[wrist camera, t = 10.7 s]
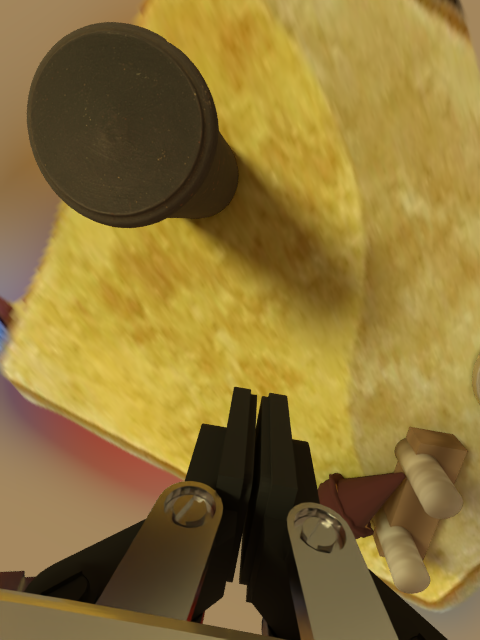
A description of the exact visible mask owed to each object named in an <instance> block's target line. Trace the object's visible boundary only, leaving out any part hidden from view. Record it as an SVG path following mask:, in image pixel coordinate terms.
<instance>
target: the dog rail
mask: <svg viewBox="0 0 480 640" xmlns="http://www.w3.org/2000/svg"><path fill="white" fill-rule="evenodd" d="M467 452H468V451H467V450H466V449H465V448H464V446H463V445H462V444H461V443H460V442H459V441H458V439H457V438H456V437H455V436H454V435H453V434H448V433H442V432H436V431H430V430H425V429H419V428H413V427H409V430H408V433H407V436H406V438H405V439H402V440H401V441H400V442H399V443H398V444H397V445H396V447H395V456H396V458H397V459H398V462H397V465H396V468H395V471H394V473H397V472H403V473H404V474H405V476H406V477H405V479H404V480H403V481H402V483H401V484H400V485H399V486H398V487H397V489H396V490H395V491H394V492H393V493H392V495H391V496H390V497H389V498H388V499H387V501H386V502H385V503H384V504H383V506H382V507H381V508H380V509H379V510H378V512H377V513H376V514H375V515H374V517H373V518H372V520H373V523H374V526H375V529H374V534H373V537H374V540H375V543H376V546H377V549H378V552H379V555H380V556H382V557H385V558H386V561H387V564H388V567H389V569H390V572H391V575H392V578H393V581H394V584H395V586H396V587H397V589H399V590H400V591H402V592H404V593H411V594H412V593H418V592H421V591H423V590H425V589H426V588H427V587H428V586H429V584H430V576H429V574H428V572H427V570H426V567H425V565H424V563H423V559H424V557H425V555H426V552H427V550H428V547H429V545H430V542H431V540H432V537H433V535H434V532H435V530H436V528H437V525H438V523H439V520H440V519H447V518H450V517H453V516H454V515H456V514H457V513H458V512H459V511H460V510H461V508H462V506H463V499H462V497H461V495H460V493H459V492H458V491H457V489H456V488H455V486H454V483H455V481H456V479H457V476H458V474H459V471H460V469H461V466H462V464H463V461H464V459H465V456H466V454H467Z"/></svg>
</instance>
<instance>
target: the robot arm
mask: <svg viewBox="0 0 480 640" xmlns="http://www.w3.org/2000/svg"><path fill="white" fill-rule="evenodd" d="M472 387H473V391H474V395H475V397H476V399H477V401H478V403H479V404H480V354H479V356H478V358H477V360H476V363H475V365H474V369H473V374H472ZM256 407H257V395H253V394H251V389H245V388H239V387H234V391H233V396H232V402H231V407H230V413H229V418H228V424H227V428H226V427H220V426H214V425H209V424H202V426H201V429H200V432H199V435H198V439H197V442H196V445H195V449H194V452H193V455H192V459H191V462H190V465H189V469H188V472H187V475H186V479H185V481H184V482H179V483H176V484H173V485H171V486H170V487H168V488H167V489H165V490H164V491H163V492H162V494H161V495H160V496H159V498H158V499H157V501H156V503H155V504H154V506H153V508H152V510H151V512H150V513H149V515H148V516H147V518H146V519H145V520H143V521H141V522H139V523H137V524H135V525H132V526H130V527H129V528H126V529H124V530H122V531H120V532H118V533H116V534H114V535H112V536H110V537H108V538H106V539H104V540H102V541H100V542H98V543H96V544H94V545H92V546H90V547H88V548H86V549H84V550H82V551H80V552H78V553H76V554H74V555H71V556H69V557H68V558H65V559H63V560H61V561H59V562H57V563H55V564H53V565H52V566H50V567H48V568H47V569H45V570H44V571H42V572H41V573H40V574H38V575H37V576H36V577H25V571H10V572H9V571H8V572H0V640H447V638H445V637H444V636H443V635H442V634H441V633H440V632H439V631H438V630H437V629H435V628H434V627H433V626H432V625H431V624H430V623H429V622H428V621H426V620H425V619H424V618H423V617H422V616H421V615H420V614H419V613H418V612H416V611H415V610H414V609H413V608H412V607H411V606H410V605H409V604H407V603H406V602H405V601H404V600H403V599H402V598H401V597H400V596H399V595H397V594H396V593H395V592H394V591H393V590H392V589H391V588H390V587H388V586H387V585H386V584H385V583H384V582H383V581H382V580H381V579H379V578H378V577H377V576H376V575H375V574H374V573H373V572H372V571H371V570H369V569H368V568H367V565H366V563H365V561H364V558H363V556H362V554H361V551H360V549H359V547H358V544H357V542H356V540H355V537H354V535H353V533H352V531H351V529H350V527H349V525H348V524H347V522H346V521H345V520H344V519H343V518H342V517H341V516H340V515H339V514H338V513H336V512H335V511H333V510H332V509H331V508H328V507H326V506H324V505H321V504H320V501H319V496H318V490H317V485H316V480H315V474H314V469H313V463H312V458H311V453H310V447H309V444H308V442H305V441H300V440H294V439H292V435H291V426H290V417H289V409H288V400H287V396H286V395H280V394H274V393H269V396H268V397H265V396H262V399H261V404H260V409H259V414H258V419H257V424H256ZM255 428H256V429H255ZM242 533H243V535H242ZM241 538H242V549H241V563H240V576H239V577H240V578H239V584H244V585H247V595H246V602H250V603H252V604H253V605H254V606H255V607H256V609H257V610H258V611H259V613H260V614H261V615H262V617H263V618H262V629H261V630H262V635H259V634H253V633H248V632H243V631H237V630H232V629H227V628H221V627H216V626H210V625H205V624H203V620H204V615H205V610H206V609H208V608H209V607H210V606H211V605H213V604H214V603H216V602H217V601H218V600H219V599H221V598H222V597H223V595H224V590H225V585H226V581H227V582H233V578H234V573H235V568H236V563H237V558H238V553H239V548H240V542H241Z"/></svg>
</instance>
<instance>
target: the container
mask: <svg viewBox="0 0 480 640" xmlns="http://www.w3.org/2000/svg"><path fill="white" fill-rule="evenodd" d="M27 127H28V134H29V140H30V144H31V147H32V151H33V154H34V157H35V160H36V162H37V164H38V166H39V168H40V171H41V173H42V174H43V176H44V178H45V179H46V181H47V182H48V184H49V185H50V186H51V188H52V189H53V190H54V191H55V193H56V194H57V195H58V196H59V197H60V198H61V199H62V200H63V201H64V202H65V203H66V204H67V205H68V206H70V207H71V208H72V209H74V210H75V211H77V212H78V213H80V214H81V215H83V216H85V217H87V218H89V219H91V220H93V221H96V222H98V223H101V224H104V225H108V226H112V227H119V228H136V227H143V226H147V225H151V224H154V223H157V222H160V221H162V220H164V219H166V218H191V219H199V218H205V217H209V216H212V215H215V214H217V213H218V212H220V211H221V210H223V209H224V208H225V207H226V206H227V205H228V204H229V203H230V201H231V200H232V198H233V196H234V194H235V191H236V188H237V184H238V167H237V163H236V160H235V157H234V154H233V152H232V150H231V148H230V147H229V145H228V144H227V142H226V141H225V139H224V138H223V136H222V135H221V133H220V132H219V127H218V118H217V112H216V108H215V104H214V101H213V98H212V95H211V93H210V90H209V88H208V86H207V84H206V82H205V80H204V78H203V77H202V75H201V74H200V72H199V70H198V69H197V68H196V66H195V65H194V64H193V63H192V62H191V61H190V59H189V58H188V57H187V56H186V55H185V54H184V53H183V52H182V51H181V50H179V49H178V48H177V47H175V46H174V45H172V44H171V43H169V42H167V41H166V39H164V38H163V37H162V36H160V35H158V34H156V33H154V32H152V31H150V30H148V29H145V28H142V27H139V26H135V25H131V24H126V23H116V22H106V23H97V24H92V25H88V26H85V27H83V28H80V29H77V30H76V31H73V32H72V33H70V34H68V35H66V36H65V37H63V38H62V39H61V40H60V41H58V42H57V43H56V44H55V45H54V46H53V47H52V48H51V50H50V51H49V52H48V53H47V54H46V56H45V57H44V58H43V60H42V61H41V63H40V65H39V66H38V68H37V71H36V73H35V75H34V78H33V81H32V83H31V87H30V92H29V97H28V104H27Z"/></svg>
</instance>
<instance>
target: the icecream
mask: <svg viewBox="0 0 480 640" xmlns="http://www.w3.org/2000/svg"><path fill="white" fill-rule="evenodd" d="M405 477H406V476H405V474H404V473H403V472H397V473H389V474H382V475H374V476H365V477H357V478H348V479H344V478H343V477H342V476H341V475H340V474H338V473H334V474H330V475H329V479H328V480H326V481H325V482H324V483H321V484H320V486H319V488H318V496H319V501H320V504H321V505H324V506H326V507H328V508H331V509H332V510H333V511H335V512H336V513H338V514H339V515H340V516H341V517H342V518H343V519H344V520H345V521H346V522H347V524H348V525H349V527H350V529H351V531H352V533H353V535H354V537H355V539H358V538H360V537H363V538H365V537H367V536H371V535H373V534H374V531H373V529H372V528H371V523H370V520H371V519H372V518H373V517H374V515H375V514H376V513H377V512H378V510H379V509H380V508H381V507H382V506H383V504H384V503H385V502H386V501H387V499H388V498H389V497H390V496H391V495H392V493H393V492H394V491H395V490H396V489H397V487H398V486H399V485H400V484H401V483H402V481H403V480H404V479H405Z"/></svg>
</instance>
